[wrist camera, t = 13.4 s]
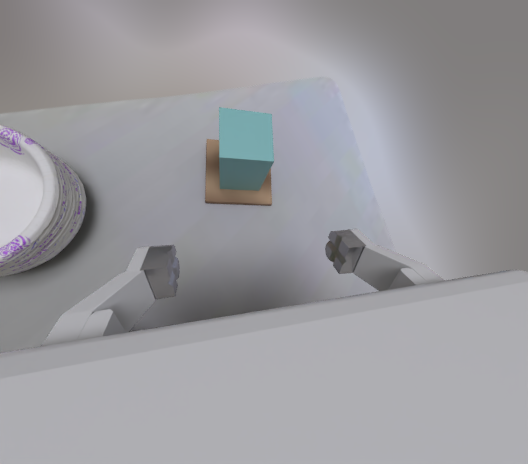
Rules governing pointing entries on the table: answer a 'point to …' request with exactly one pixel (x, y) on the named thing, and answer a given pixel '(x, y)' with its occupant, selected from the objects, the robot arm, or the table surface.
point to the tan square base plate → (227, 195)
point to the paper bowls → (35, 203)
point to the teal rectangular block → (244, 148)
